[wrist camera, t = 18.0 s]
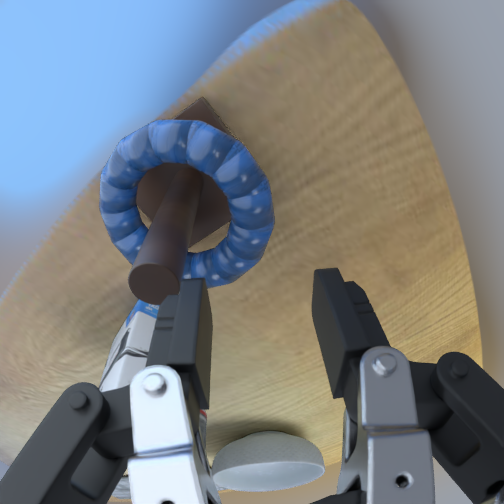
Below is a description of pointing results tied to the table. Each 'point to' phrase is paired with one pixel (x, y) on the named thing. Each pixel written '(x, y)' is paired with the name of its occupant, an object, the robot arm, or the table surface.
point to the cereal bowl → (267, 462)
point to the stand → (176, 217)
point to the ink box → (130, 347)
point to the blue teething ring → (207, 161)
